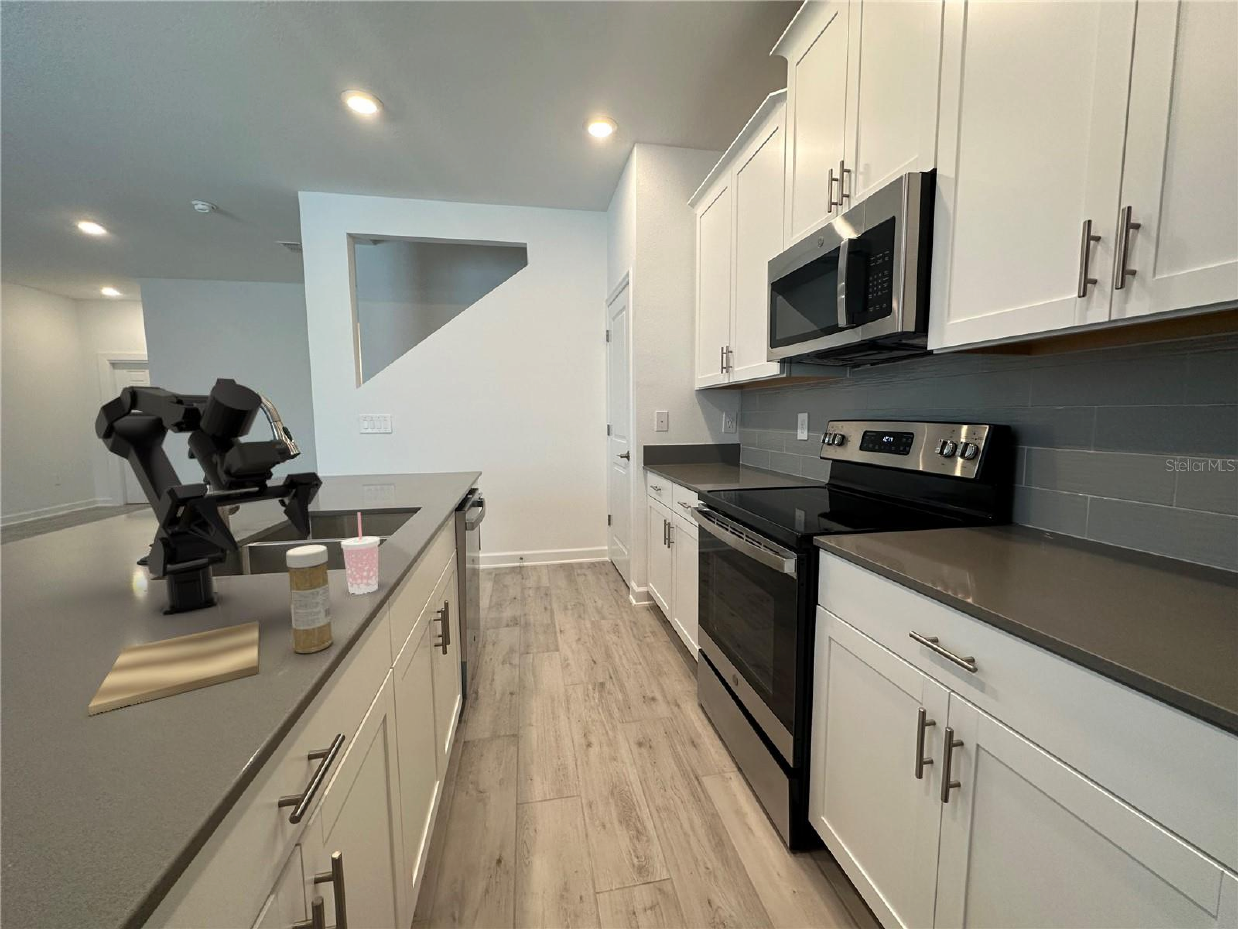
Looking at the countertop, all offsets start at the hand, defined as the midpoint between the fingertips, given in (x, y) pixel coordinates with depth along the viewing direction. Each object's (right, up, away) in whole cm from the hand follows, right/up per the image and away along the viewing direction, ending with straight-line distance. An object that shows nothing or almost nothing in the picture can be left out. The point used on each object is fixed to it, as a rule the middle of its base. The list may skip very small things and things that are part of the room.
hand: (274, 542), depth 67 cm
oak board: (-6, -14, -6) cm, 17 cm away
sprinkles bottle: (+7, -14, -2) cm, 15 cm away
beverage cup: (+2, -12, +20) cm, 23 cm away
